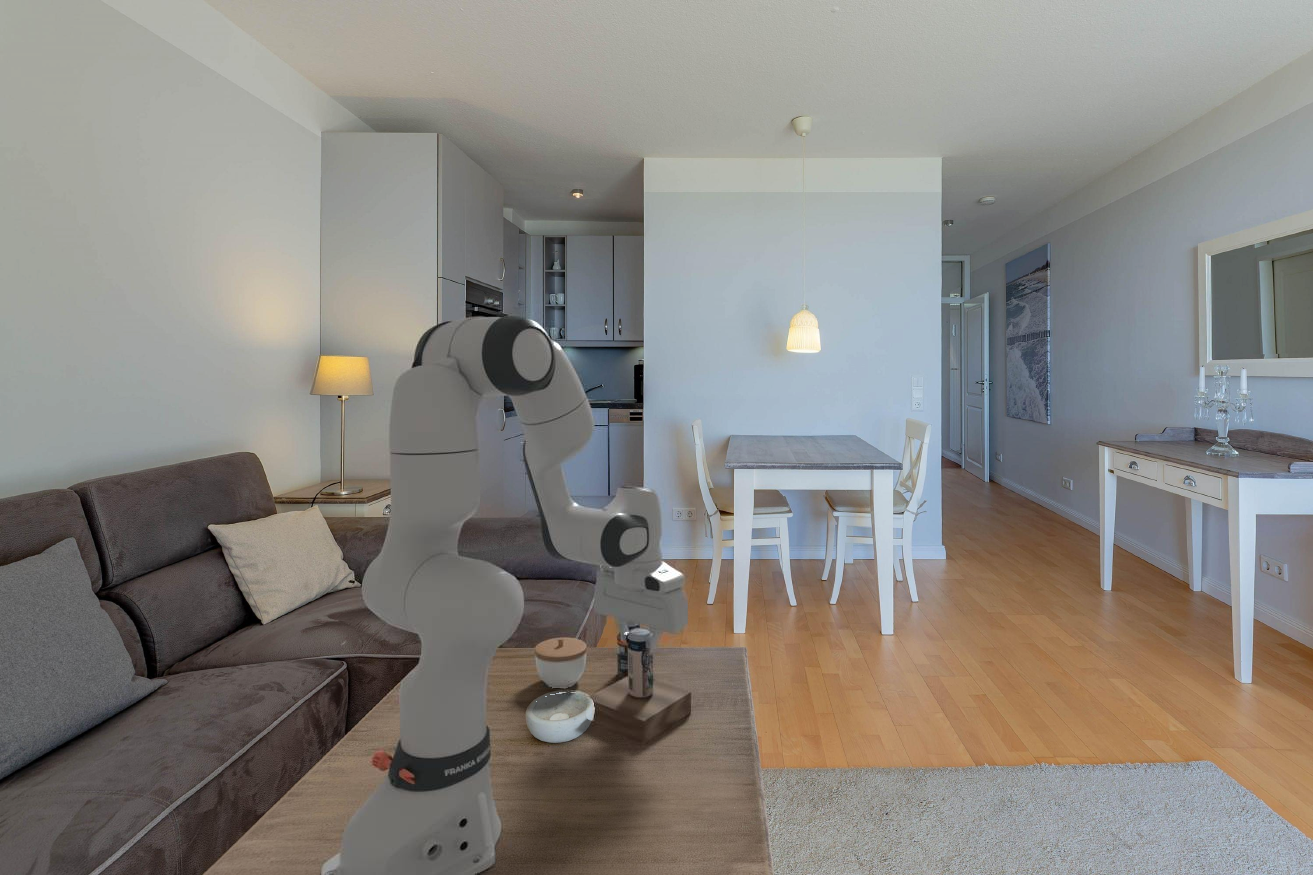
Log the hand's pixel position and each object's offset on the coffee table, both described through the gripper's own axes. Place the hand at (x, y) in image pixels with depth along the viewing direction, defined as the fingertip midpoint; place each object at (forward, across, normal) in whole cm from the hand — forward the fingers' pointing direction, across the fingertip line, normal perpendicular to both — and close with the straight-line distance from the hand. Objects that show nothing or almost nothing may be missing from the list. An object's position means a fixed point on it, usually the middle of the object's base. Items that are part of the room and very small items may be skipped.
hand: (639, 645), depth 122 cm
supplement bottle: (+14, -13, +13) cm, 23 cm away
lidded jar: (+14, -22, +1) cm, 26 cm away
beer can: (+10, 0, 0) cm, 10 cm away
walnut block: (+13, 0, 0) cm, 13 cm away
